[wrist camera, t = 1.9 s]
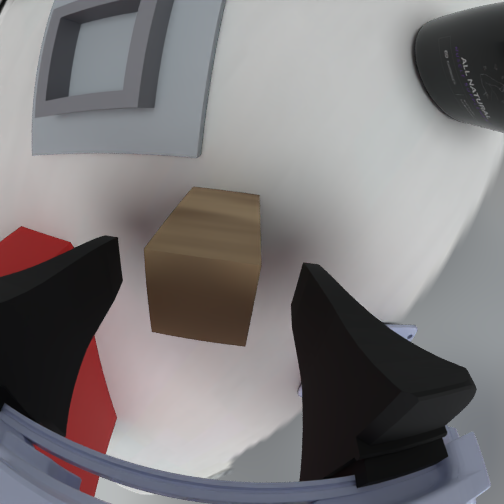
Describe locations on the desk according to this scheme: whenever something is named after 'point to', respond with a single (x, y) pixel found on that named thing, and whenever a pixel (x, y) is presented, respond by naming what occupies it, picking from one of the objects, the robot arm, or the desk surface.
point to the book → (90, 374)
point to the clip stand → (125, 77)
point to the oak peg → (205, 267)
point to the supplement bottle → (465, 64)
